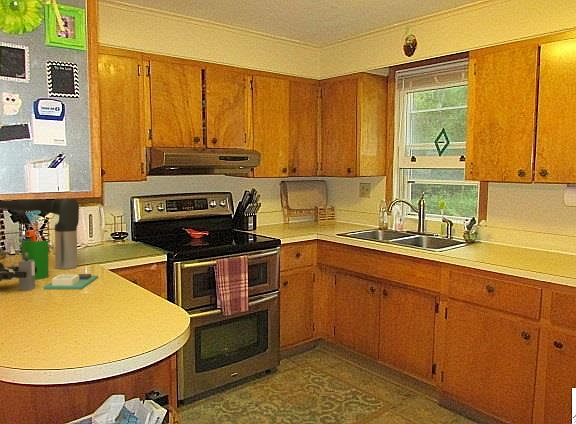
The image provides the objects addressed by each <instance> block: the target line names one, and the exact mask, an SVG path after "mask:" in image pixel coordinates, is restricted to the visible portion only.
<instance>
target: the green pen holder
mask: <svg viewBox="0 0 576 424" xmlns="http://www.w3.org/2000/svg"><path fill="white" fill-rule="evenodd" d="M25 237H30V238H28V239H27V238H26V239H22V240H21V250H22V251H21V260H25V253H28V260H34V261H35V267H37V273H35V280H40V279H41V280H42V279H46V278H49V240H45V239H44V240H38V241H37V235H36V232H35V230H30V229H29V230H25Z"/></svg>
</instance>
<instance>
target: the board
mask: <svg viewBox="0 0 576 424" xmlns="http://www.w3.org/2000/svg"><path fill="white" fill-rule="evenodd" d="M97 279H99V275H92V273H78V274H73V273H69V272H67V273H66V272H65V273H62V274H58V275H56V276H55V277H53V278H51V281H50V283H48V284H46V285H44V286H43V290H83V289H84V288H86V287H88V286H89V285H90V284H91V283H93V282H94V281H95V280H97Z"/></svg>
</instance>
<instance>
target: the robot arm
mask: <svg viewBox="0 0 576 424" xmlns="http://www.w3.org/2000/svg"><path fill="white" fill-rule="evenodd" d="M79 205H80V204H79V202H78V199H76V198H75V199H55V200H19V201H0V209H4V210H11V211H19V212H36V211H37V212H39V211H40V212H45V213H49V214H50V213H51V214H55V215H57V216H58V222H57V223H56V224H55V226H54V245H55V246H54V248H55V249H54V254H55V255H54V259H55V269H58V270H59V269H60V270H68V269H75V268H78V234H77V233H78V232H77V231H78V225H79V222H80V220H79V219H80V206H79ZM35 273H37V267H35ZM26 277H27V272H19V265H15V264H14V265H8V266H6V267H5V266H4V264H3V263H2V262H0V282H2V280H3V281H5V280H6V281H10V280H12V279H13V280H14V279H19V278H26Z"/></svg>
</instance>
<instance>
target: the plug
mask: <svg viewBox="0 0 576 424" xmlns="http://www.w3.org/2000/svg"><path fill="white" fill-rule="evenodd" d="M18 266H19V272H27V277H26V278H18V289H19V292H20V291H24V292H25V291H28V292H29V291H30V290H31V291H32V290H34V289H35V288H36V279H35V261H34V260H28V253H25V260H22V259H21V260H20V261H18Z"/></svg>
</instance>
